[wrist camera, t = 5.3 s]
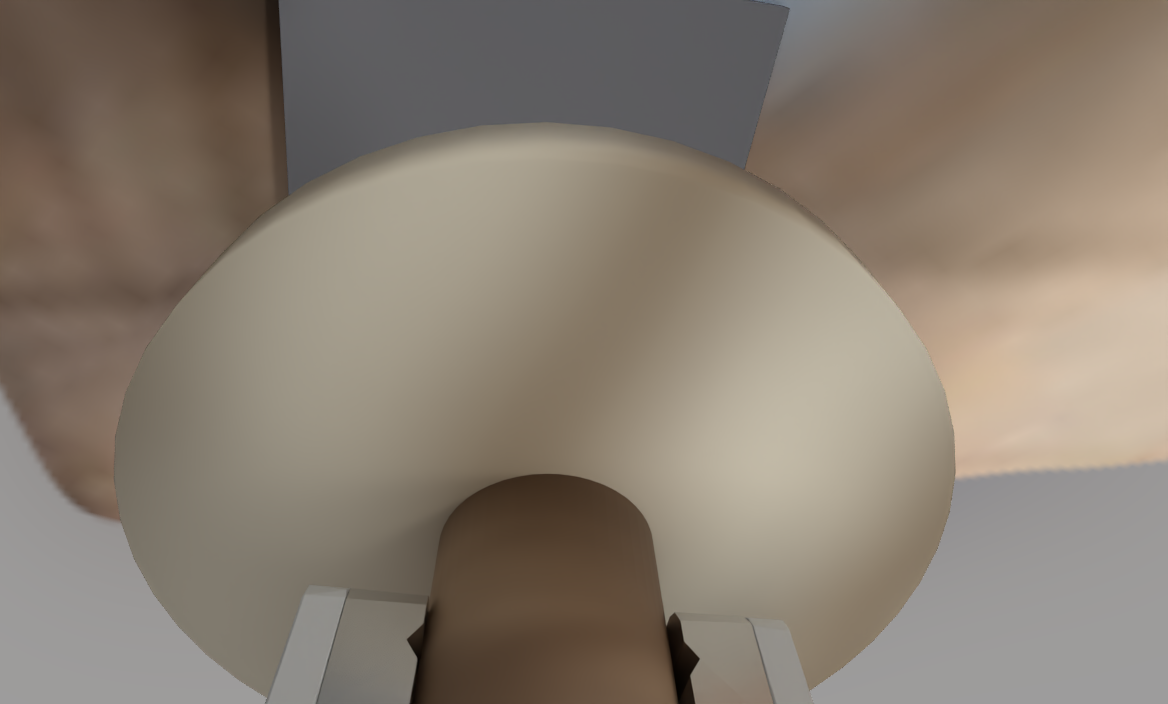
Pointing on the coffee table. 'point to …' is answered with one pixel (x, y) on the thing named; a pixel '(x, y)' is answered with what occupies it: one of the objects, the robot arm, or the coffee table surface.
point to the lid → (536, 418)
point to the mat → (521, 71)
